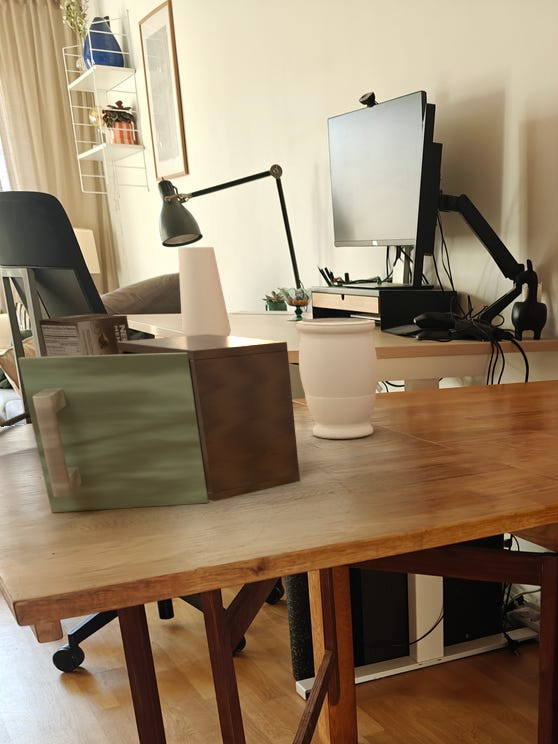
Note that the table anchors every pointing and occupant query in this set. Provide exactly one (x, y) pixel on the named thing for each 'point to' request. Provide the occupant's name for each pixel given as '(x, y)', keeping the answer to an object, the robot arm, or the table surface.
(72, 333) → the coffee box
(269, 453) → the cupboard
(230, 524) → the table surface
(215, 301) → the white tapered column
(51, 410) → the cupboard door
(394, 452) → the table surface
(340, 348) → the jar
